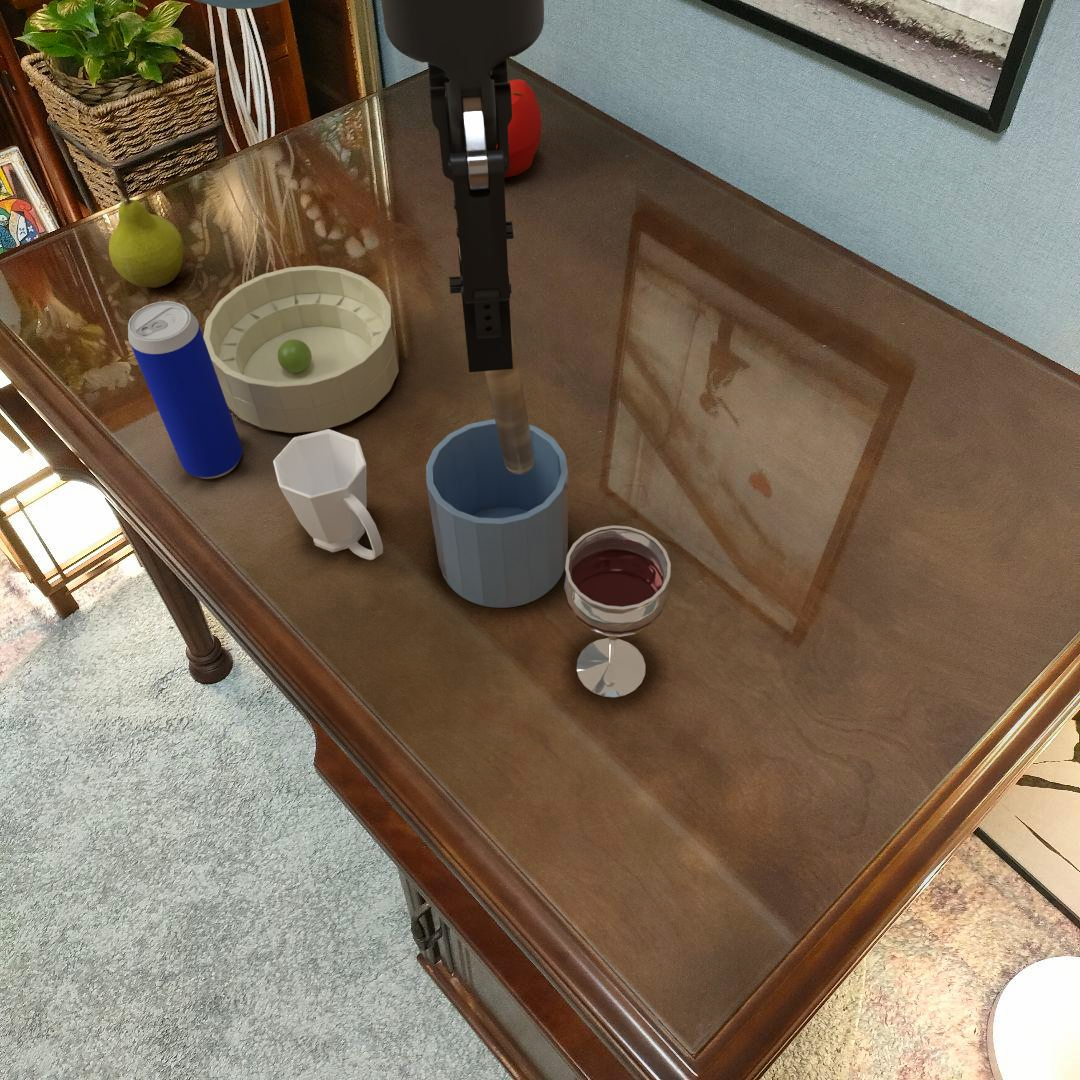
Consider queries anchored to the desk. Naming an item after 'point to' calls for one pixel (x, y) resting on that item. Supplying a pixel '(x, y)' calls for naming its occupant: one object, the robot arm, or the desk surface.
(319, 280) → the bowl
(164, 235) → the fruit
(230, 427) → the beverage can
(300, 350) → the olive
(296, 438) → the cup
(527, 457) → the stick
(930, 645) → the desk surface
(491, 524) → the utensil pot
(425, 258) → the desk surface
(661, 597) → the wineglass
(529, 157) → the tomato
